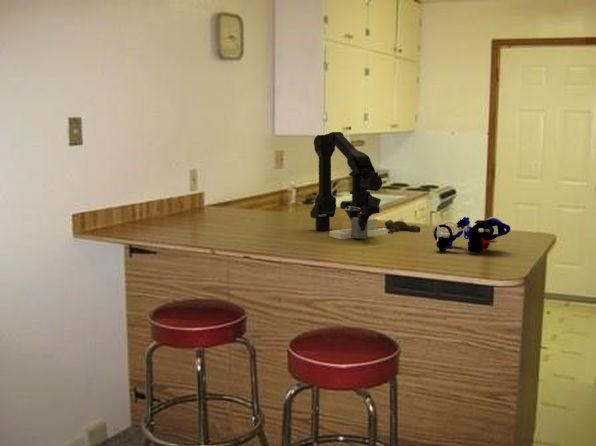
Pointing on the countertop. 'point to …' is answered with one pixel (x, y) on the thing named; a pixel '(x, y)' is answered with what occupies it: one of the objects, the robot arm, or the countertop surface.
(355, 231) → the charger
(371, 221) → the lamp plug
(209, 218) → the countertop surface
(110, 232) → the countertop surface
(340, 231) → the power strip
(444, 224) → the robot toy
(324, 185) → the robot arm
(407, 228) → the faucet
